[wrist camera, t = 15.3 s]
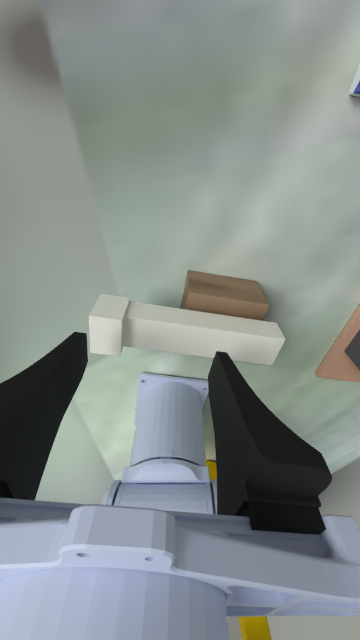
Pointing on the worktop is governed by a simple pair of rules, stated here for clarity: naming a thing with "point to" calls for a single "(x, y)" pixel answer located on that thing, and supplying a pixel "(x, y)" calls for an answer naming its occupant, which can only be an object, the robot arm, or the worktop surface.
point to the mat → (342, 355)
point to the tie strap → (180, 331)
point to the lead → (354, 350)
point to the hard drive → (356, 85)
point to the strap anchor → (224, 296)
